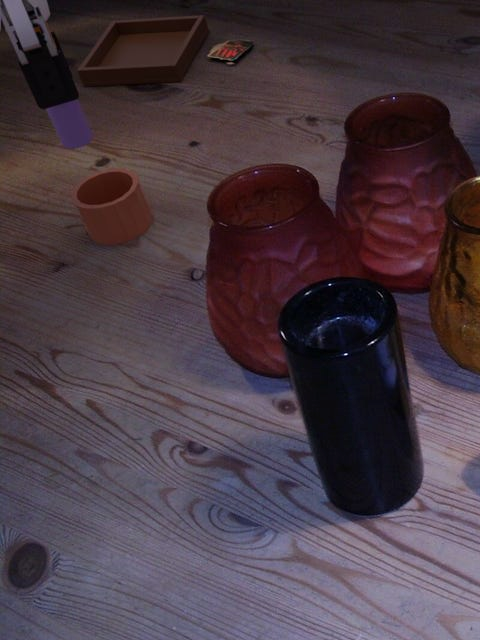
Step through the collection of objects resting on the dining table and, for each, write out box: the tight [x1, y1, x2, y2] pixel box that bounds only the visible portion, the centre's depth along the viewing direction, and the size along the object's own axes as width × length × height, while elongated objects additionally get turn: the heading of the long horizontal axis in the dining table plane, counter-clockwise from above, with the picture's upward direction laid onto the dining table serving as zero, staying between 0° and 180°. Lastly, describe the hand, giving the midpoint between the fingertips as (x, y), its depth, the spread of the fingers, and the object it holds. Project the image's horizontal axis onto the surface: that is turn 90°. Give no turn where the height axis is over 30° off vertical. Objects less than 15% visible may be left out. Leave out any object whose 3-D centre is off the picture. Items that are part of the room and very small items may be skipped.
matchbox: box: [207, 38, 254, 66], centre depth 111 cm, size 5×5×1 cm
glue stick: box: [34, 22, 94, 150], centre depth 80 cm, size 3×3×10 cm
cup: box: [71, 167, 155, 246], centre depth 89 cm, size 6×6×4 cm
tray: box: [76, 14, 210, 88], centre depth 112 cm, size 11×11×2 cm
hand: (56, 91), depth 80 cm, fingers closed on glue stick, 2 cm apart
